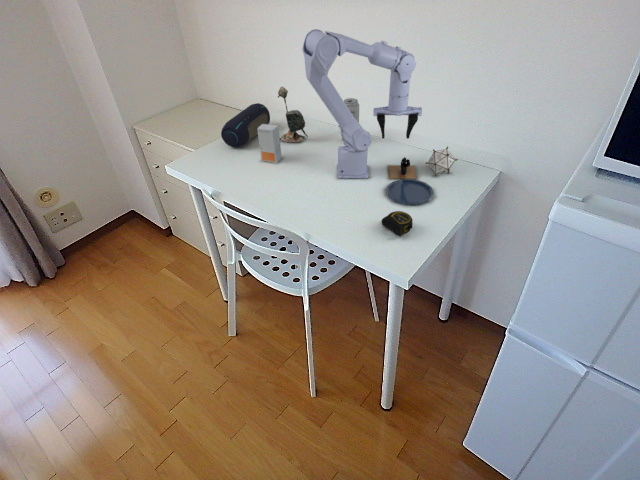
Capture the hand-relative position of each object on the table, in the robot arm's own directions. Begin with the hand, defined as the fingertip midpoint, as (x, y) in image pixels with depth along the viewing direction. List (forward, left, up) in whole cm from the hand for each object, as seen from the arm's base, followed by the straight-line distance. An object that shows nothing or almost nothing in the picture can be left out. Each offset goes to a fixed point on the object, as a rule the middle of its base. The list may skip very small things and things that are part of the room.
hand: (395, 137), depth 127 cm
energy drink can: (-14, +18, -10) cm, 25 cm away
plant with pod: (-35, +19, -10) cm, 41 cm away
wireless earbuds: (+3, -7, -9) cm, 12 cm away
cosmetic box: (-41, +3, -10) cm, 43 cm away
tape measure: (-1, -37, -10) cm, 38 cm away
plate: (+4, -19, -9) cm, 21 cm away
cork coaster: (+3, -6, -9) cm, 11 cm away
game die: (+14, -6, -10) cm, 18 cm away
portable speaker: (-54, +22, -10) cm, 59 cm away
